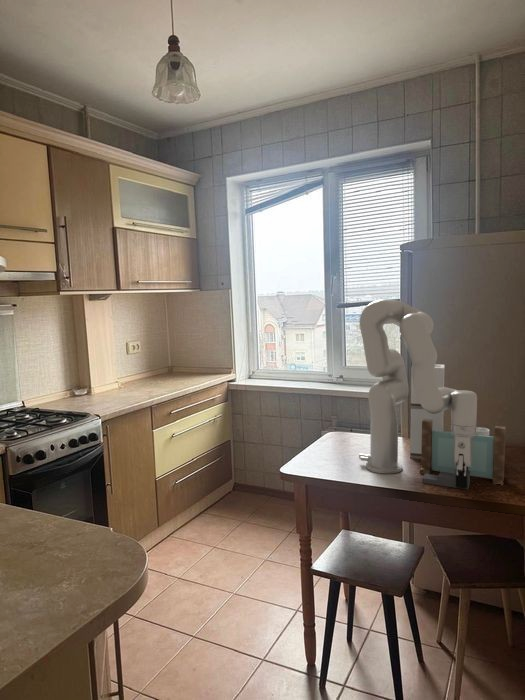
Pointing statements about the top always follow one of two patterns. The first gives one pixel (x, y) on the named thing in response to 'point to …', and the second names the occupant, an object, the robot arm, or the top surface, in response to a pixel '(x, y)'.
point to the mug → (482, 431)
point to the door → (445, 454)
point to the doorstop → (444, 479)
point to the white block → (423, 415)
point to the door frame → (498, 451)
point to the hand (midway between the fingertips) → (462, 484)
